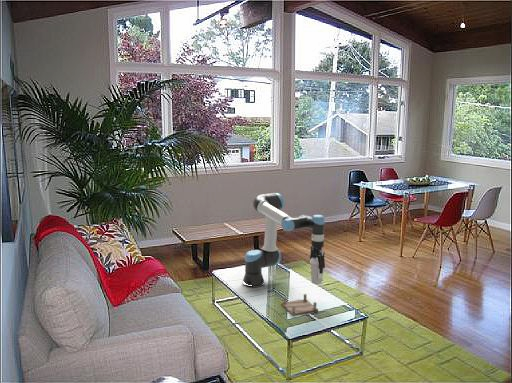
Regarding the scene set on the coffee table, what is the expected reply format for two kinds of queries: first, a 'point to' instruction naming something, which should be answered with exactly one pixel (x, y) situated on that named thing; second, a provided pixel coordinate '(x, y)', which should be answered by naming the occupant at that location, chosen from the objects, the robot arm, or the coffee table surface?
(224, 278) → the coffee table surface
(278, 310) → the coffee table surface
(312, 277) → the coffee cup
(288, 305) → the standoff base
